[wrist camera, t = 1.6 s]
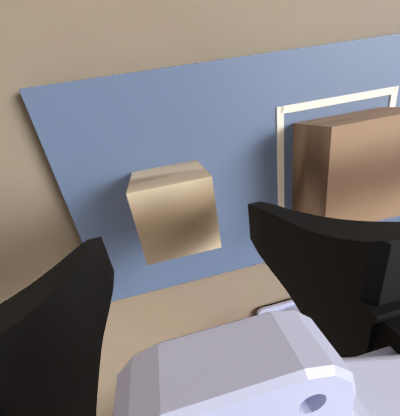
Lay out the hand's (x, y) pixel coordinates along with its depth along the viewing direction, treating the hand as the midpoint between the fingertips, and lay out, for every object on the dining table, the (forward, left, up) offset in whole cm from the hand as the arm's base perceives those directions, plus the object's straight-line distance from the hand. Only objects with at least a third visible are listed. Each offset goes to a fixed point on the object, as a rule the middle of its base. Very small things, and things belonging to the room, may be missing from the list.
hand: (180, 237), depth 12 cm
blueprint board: (0, -7, -7) cm, 10 cm away
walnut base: (0, -13, -6) cm, 14 cm away
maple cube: (0, 0, -6) cm, 6 cm away
